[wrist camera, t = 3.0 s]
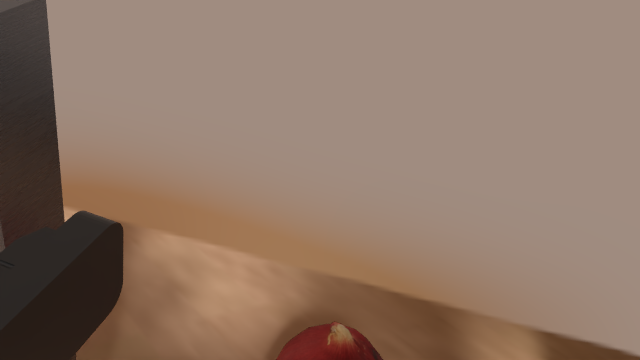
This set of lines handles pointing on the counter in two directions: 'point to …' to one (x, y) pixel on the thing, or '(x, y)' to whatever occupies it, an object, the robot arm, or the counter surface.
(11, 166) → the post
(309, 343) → the onion
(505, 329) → the counter surface
